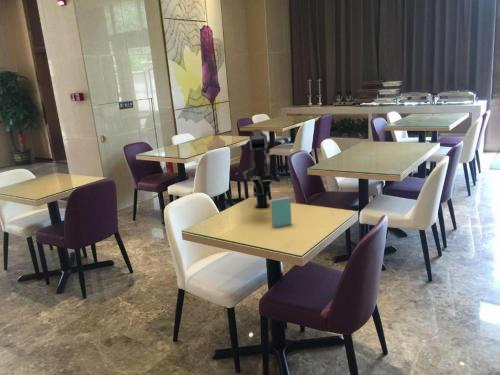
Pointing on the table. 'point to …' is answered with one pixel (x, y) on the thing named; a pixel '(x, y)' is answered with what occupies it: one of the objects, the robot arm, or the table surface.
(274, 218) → the tile
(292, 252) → the table surface
